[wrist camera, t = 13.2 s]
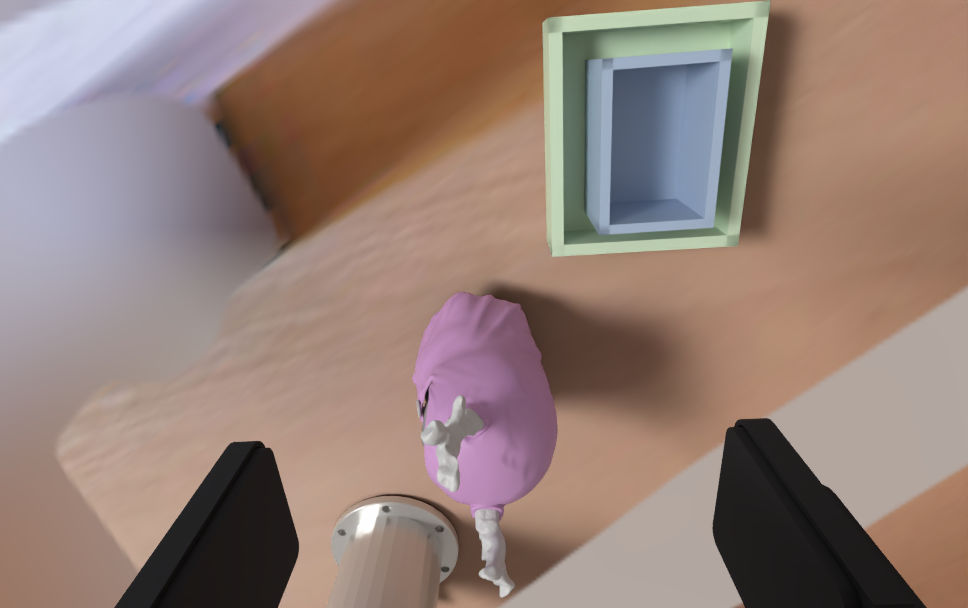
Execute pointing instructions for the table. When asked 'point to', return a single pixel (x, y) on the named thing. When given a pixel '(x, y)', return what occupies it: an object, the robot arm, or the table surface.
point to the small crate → (654, 140)
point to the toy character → (484, 413)
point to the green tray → (640, 36)
